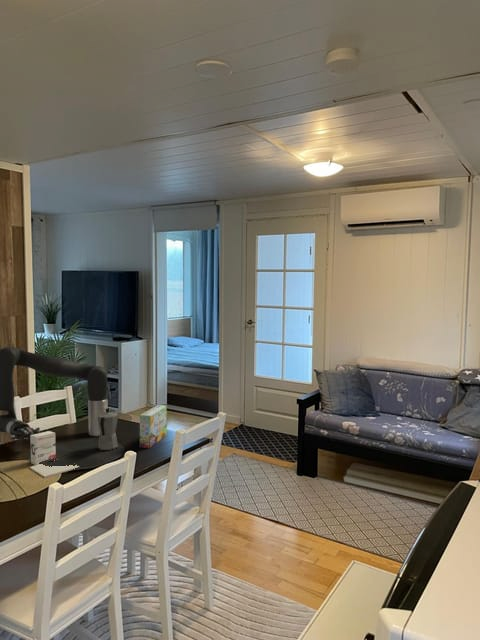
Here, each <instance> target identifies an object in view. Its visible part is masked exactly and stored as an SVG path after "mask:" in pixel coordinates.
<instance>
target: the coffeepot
mask: <svg viewBox="0 0 480 640" xmlns="http://www.w3.org/2000/svg"><path fill="white" fill-rule="evenodd" d="M97 417H98V424H99V430H100V435H99V436H98V437H99V438H98V443H97V449H98V448H102V449H111V448H115V447H118V448H119V445H118V443H119V442H118V439H117V434H116V429H117V427H118V426H117V425H118V417H119V414H118V413H117V412H113V411H110V408H107V409H106V412H105V413H101V414H98V415H97Z"/></svg>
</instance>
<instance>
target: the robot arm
mask: <svg viewBox="0 0 480 640" xmlns="http://www.w3.org/2000/svg"><path fill="white" fill-rule="evenodd" d="M15 366H18V367H25V368H30V369H32V370H34V371H36V372H38V373H40V374H43V375H46V376H47V375H48V376H51V377H56V378H67V379H68V378H69V379H70V378H72V379H74V378H75V379H79V380H84V381H87V382H86V383H87V384H86V385H87V398H88V400H87V402H88V403H87V405H88V406H87V407H88V411H87V412H88V413H87V414H88V435H89V436H91V437H92V436H93V437H99V435H100V430H99V424H98V417H97V415H98V414H101V413H105V412H106V409H107V408H108V407H109V404H108V397H109V396H108V371H107V369H106V368H104V367H102V366H101V365H91V364H84V363H79V362H76V361H73V360H70V359H66V358H62V357H57V356H53V355H48V354H42V353H35V352H31V351H30V352H29V351H27V350H24V349H21V348H18V347H15V346H11V345H9V346H4V347H2V348H1V349H0V411H3V412H7V414H0V433H7V434H8V435H9V436H10V440H21V441H22V440H25V439H26V440H30V435H34V434H39V433H41V432H40V431H41V428H40V427H39V426H38V427H36V428H33V427H31V426H30V425H29V424H28V423H27V422H25V421H23V420H21V419H20V420H19V419H18V418H17V414H16V412H15V387H14V386H15V385H14V382H13V380H14V379H13V377H14V375H13V374H14V369H15Z"/></svg>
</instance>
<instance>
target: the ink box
mask: <svg viewBox="0 0 480 640" xmlns="http://www.w3.org/2000/svg"><path fill="white" fill-rule="evenodd" d="M29 440H30V463H31V464H33V466H35V465H39V463H40V462H42V461H45V460H49V459H53V458H56V456H57V453H56V432H55V431H54V432H53V431H51V430H47V431H43V432H40V433H39V434H34V435H30V439H29Z"/></svg>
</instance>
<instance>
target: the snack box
mask: <svg viewBox="0 0 480 640" xmlns="http://www.w3.org/2000/svg"><path fill="white" fill-rule="evenodd" d="M167 413H168V412H167V405H162V404H161V405H160V404H158V405H157V404H156V405H155V406H153V407H152V408H150V409H148V410H146V411H145V412H143V413H141V414H140V415H139V448H142V449H151V448H152V447H153V446H154V445H155V444H156V445H157V443H158V442H159V441H161V440H162V439H163V438H165V437H166V436H167V418H168V417H167V415H168V414H167Z"/></svg>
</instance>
